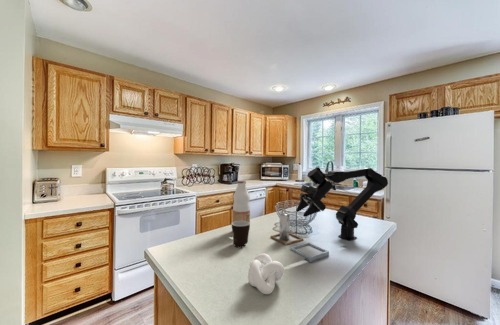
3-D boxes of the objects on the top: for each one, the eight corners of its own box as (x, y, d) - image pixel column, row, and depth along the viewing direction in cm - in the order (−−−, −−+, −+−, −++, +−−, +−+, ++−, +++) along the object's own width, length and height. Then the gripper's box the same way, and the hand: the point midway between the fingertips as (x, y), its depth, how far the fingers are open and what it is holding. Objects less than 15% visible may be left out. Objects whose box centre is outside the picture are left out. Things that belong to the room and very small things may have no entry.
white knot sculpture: (279, 274, 76) (279, 249, 76) (289, 296, 64) (289, 267, 64) (246, 277, 75) (246, 251, 75) (251, 299, 63) (251, 269, 63)
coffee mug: (247, 249, 97) (247, 226, 97) (229, 247, 99) (229, 225, 99) (252, 239, 108) (252, 219, 108) (235, 238, 110) (235, 218, 110)
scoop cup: (284, 236, 109) (285, 212, 109) (291, 239, 105) (291, 214, 105) (277, 238, 107) (277, 213, 106) (283, 241, 103) (284, 216, 102)
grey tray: (308, 246, 100) (308, 242, 100) (328, 255, 91) (328, 251, 91) (290, 252, 94) (290, 247, 94) (309, 262, 85) (310, 257, 85)
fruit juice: (234, 235, 114) (234, 182, 113) (231, 229, 123) (231, 180, 123) (251, 233, 116) (251, 181, 115) (248, 228, 125) (248, 179, 125)
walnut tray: (287, 235, 114) (287, 231, 114) (303, 242, 104) (303, 238, 104) (270, 239, 108) (270, 235, 108) (285, 247, 98) (285, 243, 98)
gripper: (303, 177, 116) (283, 198, 115) (319, 181, 98) (296, 206, 97) (316, 191, 118) (297, 212, 116) (335, 198, 99) (312, 223, 98)
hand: (300, 213), depth 107 cm, fingers open, 9 cm apart
